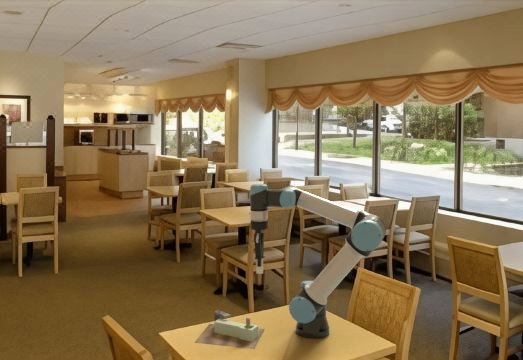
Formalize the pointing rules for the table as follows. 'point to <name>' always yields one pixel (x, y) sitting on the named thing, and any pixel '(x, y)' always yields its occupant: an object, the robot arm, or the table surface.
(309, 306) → the robot arm
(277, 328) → the table surface
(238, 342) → the pintle board
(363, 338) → the table surface
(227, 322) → the link
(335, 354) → the table surface
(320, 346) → the table surface
